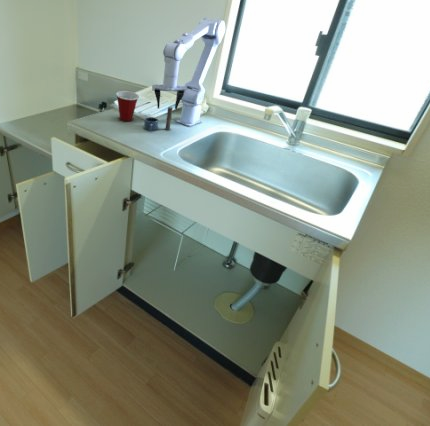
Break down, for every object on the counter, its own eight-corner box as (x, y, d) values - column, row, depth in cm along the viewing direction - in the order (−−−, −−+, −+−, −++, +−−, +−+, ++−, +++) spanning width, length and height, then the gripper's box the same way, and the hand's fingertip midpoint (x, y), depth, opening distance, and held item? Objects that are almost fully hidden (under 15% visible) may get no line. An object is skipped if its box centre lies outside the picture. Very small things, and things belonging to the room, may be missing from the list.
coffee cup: (144, 125, 153) (145, 116, 151) (157, 126, 153) (158, 117, 151) (143, 131, 146) (143, 123, 144) (157, 133, 146) (157, 124, 144)
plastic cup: (129, 125, 152) (131, 99, 145) (110, 119, 156) (111, 94, 149) (141, 119, 159) (143, 94, 152) (123, 114, 164) (124, 89, 157)
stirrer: (167, 128, 151) (170, 106, 145) (170, 129, 150) (173, 107, 144) (164, 129, 150) (167, 107, 144) (167, 130, 149) (170, 108, 143)
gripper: (153, 76, 131) (150, 110, 139) (189, 78, 132) (184, 112, 139) (153, 72, 137) (150, 104, 145) (187, 74, 137) (182, 106, 145)
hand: (167, 108), depth 143 cm, fingers open, 7 cm apart
